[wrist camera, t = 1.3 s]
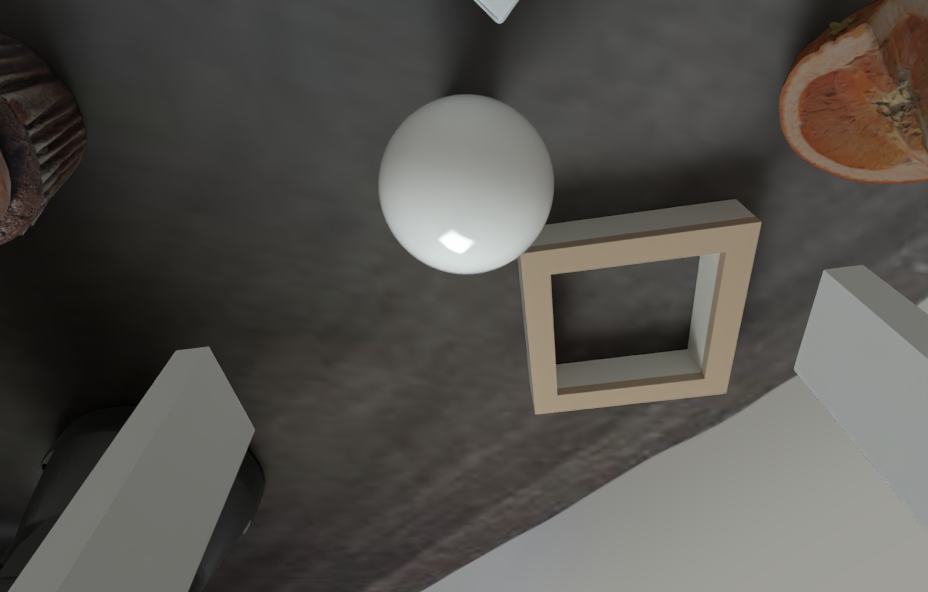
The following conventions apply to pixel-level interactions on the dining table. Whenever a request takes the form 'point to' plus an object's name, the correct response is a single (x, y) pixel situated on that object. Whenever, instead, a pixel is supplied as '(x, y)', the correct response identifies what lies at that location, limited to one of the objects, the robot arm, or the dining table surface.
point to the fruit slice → (863, 96)
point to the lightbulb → (466, 184)
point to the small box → (497, 8)
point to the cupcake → (33, 136)
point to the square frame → (630, 242)
